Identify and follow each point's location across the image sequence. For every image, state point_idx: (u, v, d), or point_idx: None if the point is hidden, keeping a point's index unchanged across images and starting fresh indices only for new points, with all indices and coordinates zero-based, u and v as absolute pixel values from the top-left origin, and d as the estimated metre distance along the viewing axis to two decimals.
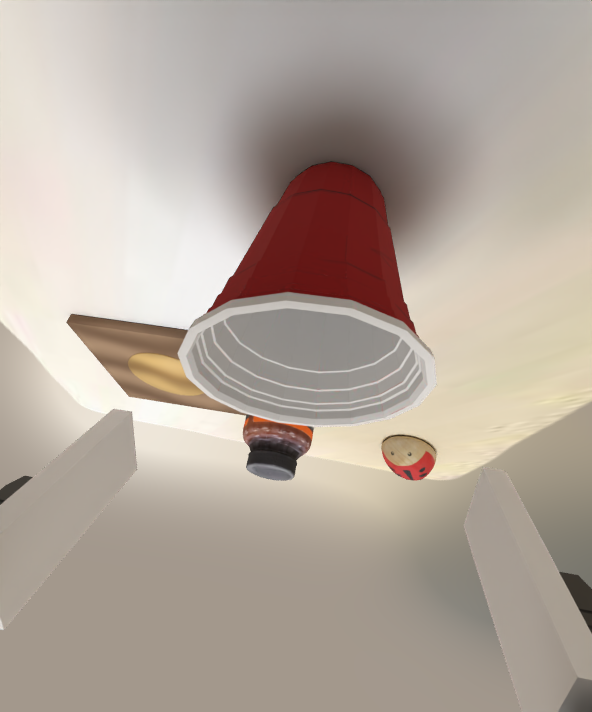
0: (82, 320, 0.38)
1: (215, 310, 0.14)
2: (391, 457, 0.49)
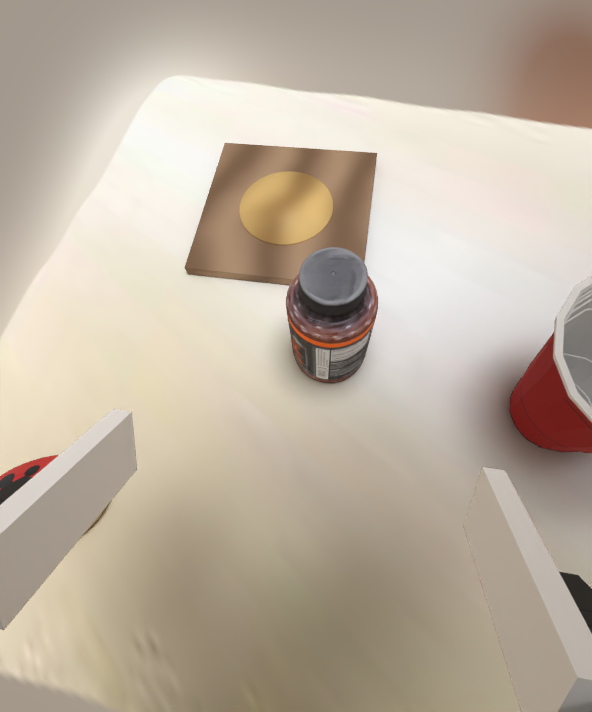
0: None
1: None
2: None
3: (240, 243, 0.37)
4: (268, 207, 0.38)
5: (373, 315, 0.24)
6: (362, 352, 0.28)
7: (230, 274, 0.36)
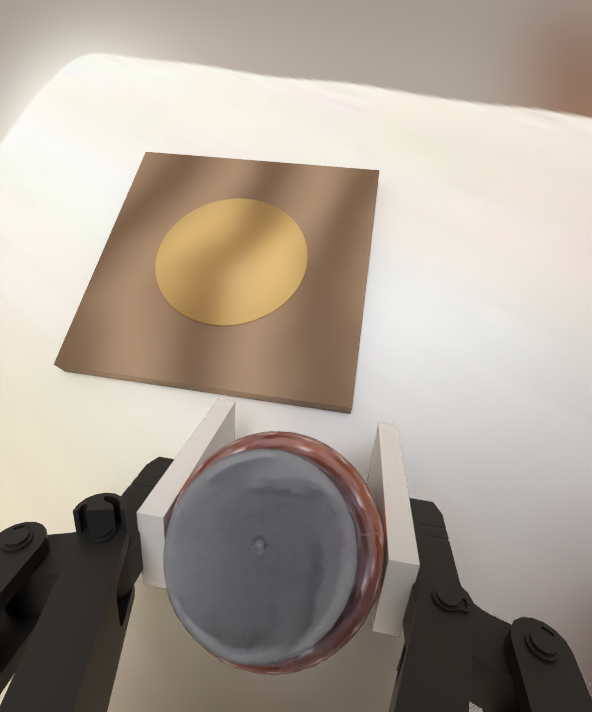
0: None
1: None
2: None
3: (151, 321, 0.22)
4: (202, 258, 0.23)
5: (373, 601, 0.10)
6: None
7: (130, 377, 0.21)
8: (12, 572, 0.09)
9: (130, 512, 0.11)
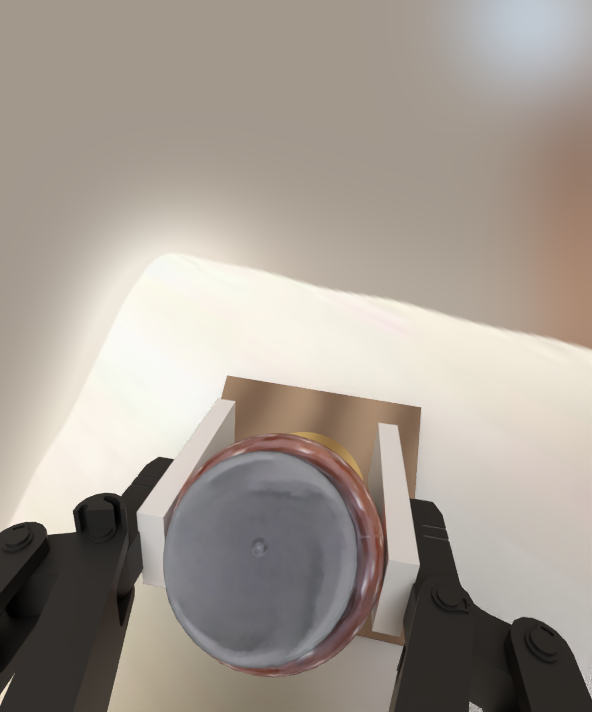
0: None
1: None
2: None
3: None
4: None
5: (373, 603, 0.10)
6: None
7: None
8: (12, 572, 0.09)
9: (130, 512, 0.11)
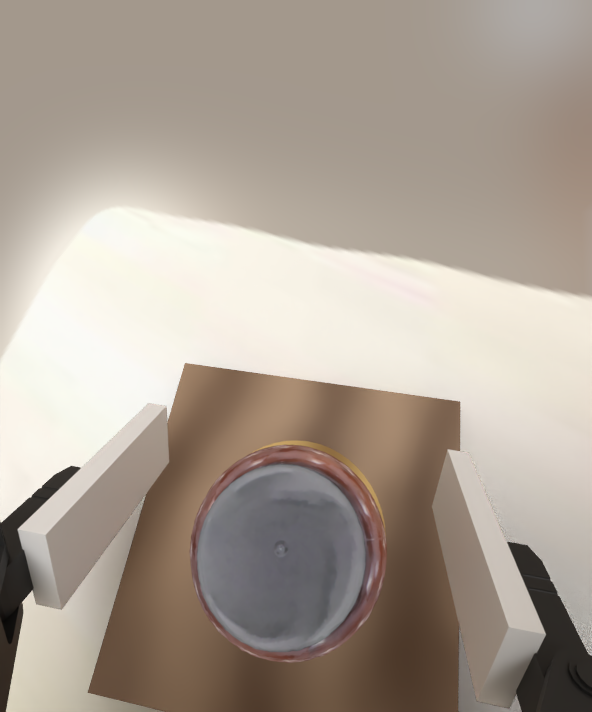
0: None
1: None
2: None
3: (203, 627, 0.18)
4: None
5: (376, 598, 0.11)
6: None
7: None
8: None
9: None
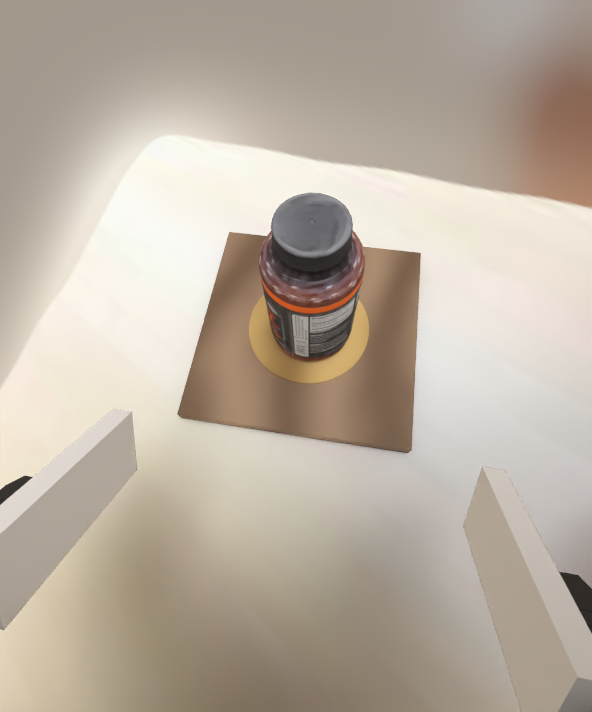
0: None
1: None
2: None
3: (250, 379, 0.28)
4: None
5: (359, 276, 0.21)
6: (347, 324, 0.25)
7: (237, 424, 0.27)
8: None
9: None
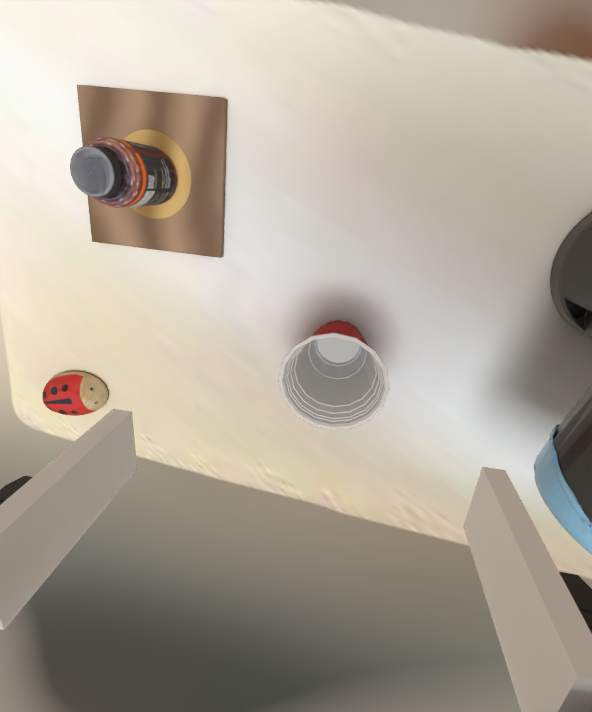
0: (225, 115, 0.41)
1: (381, 361, 0.37)
2: (87, 389, 0.54)
3: (125, 217, 0.46)
4: None
5: (137, 187, 0.36)
6: (158, 194, 0.40)
7: None
8: None
9: None
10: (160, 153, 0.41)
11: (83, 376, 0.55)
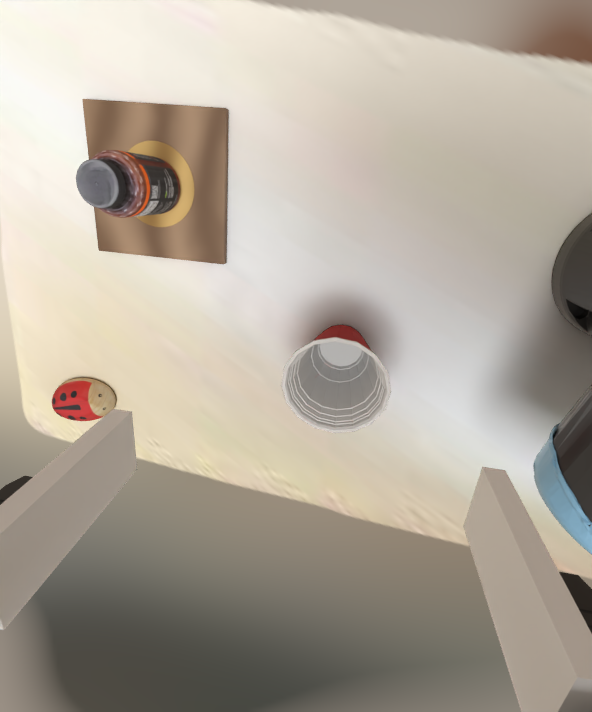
0: (226, 125, 0.42)
1: (382, 364, 0.37)
2: (95, 395, 0.55)
3: (131, 226, 0.47)
4: None
5: (141, 198, 0.37)
6: (162, 203, 0.41)
7: (132, 253, 0.49)
8: None
9: None
10: (163, 163, 0.42)
11: (91, 383, 0.56)
